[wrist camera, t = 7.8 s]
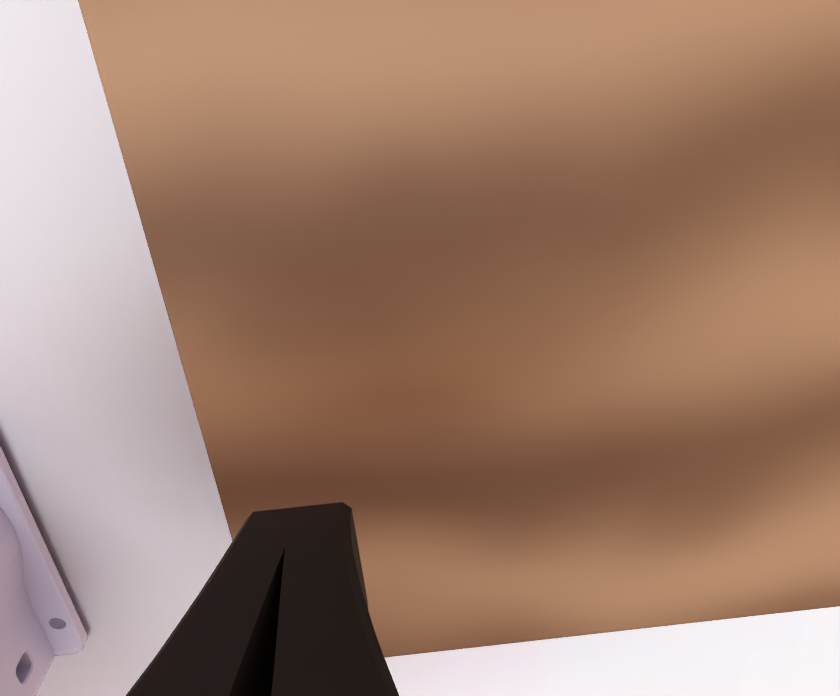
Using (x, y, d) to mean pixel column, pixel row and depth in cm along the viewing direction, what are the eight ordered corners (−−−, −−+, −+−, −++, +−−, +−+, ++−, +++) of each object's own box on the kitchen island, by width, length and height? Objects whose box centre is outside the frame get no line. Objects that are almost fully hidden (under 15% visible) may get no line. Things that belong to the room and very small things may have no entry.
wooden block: (772, 508, 22) (849, 605, 18) (286, 561, 22) (269, 670, 18) (1003, -629, 11) (1306, -932, 7) (19, -547, 11) (-157, -822, 7)
